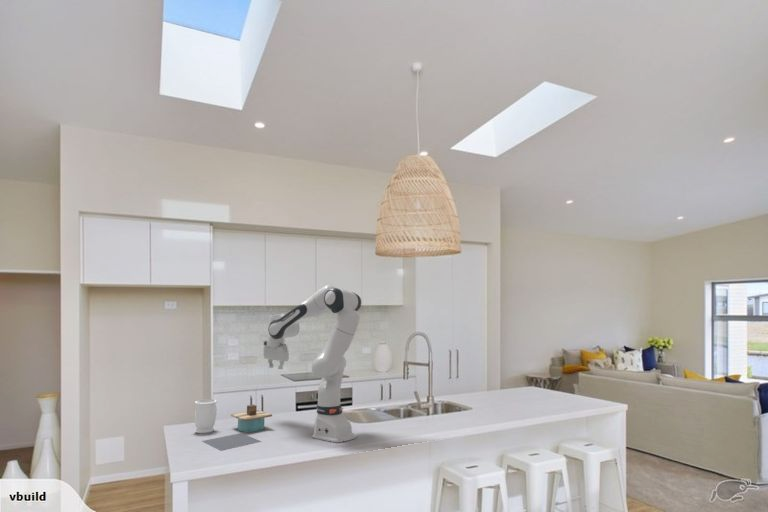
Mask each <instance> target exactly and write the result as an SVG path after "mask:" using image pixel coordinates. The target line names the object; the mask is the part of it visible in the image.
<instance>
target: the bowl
mask: <svg viewBox="0 0 768 512" xmlns="http://www.w3.org/2000/svg"><path fill="white" fill-rule="evenodd" d="M263 429H265V418H260V419H255V420H249V421H243V420H240V419H238V418H237V430H238V431H240V432H244V433H245V432H246V433H249V432H258V431H261V430H263Z"/></svg>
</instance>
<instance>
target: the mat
mask: <svg viewBox="0 0 768 512" xmlns="http://www.w3.org/2000/svg"><path fill="white" fill-rule="evenodd" d="M201 442H202V443H204V444H206V445H208V446H210V447H212V448H213V449H217V450H218V451H221V452H222V451H225V450H226V451H227V450H231V449H235V448H239V447H240V448H241V447H244V446H249V445H253V444H258V443H262V442H263V441H261V440H259V439H257V438H254V437H251V436H249V435H247V434H245V433H243V432H240V433H236V434H235V433H233V434H231V435H230V434H229V435H226V436H220V437H219V436H218V437H215V438H209V439H205V440H201Z"/></svg>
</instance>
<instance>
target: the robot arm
mask: <svg viewBox="0 0 768 512" xmlns="http://www.w3.org/2000/svg"><path fill="white" fill-rule="evenodd" d="M361 306H362V298H361V297H360V296H359V294H357V293H356V292H351V291H350V290H347V289H344V288H342V289H341V288H337V287H336V286H334V285H333V284H327V285H324V286H322V287H321V288H320V289H318V290H316V291H315V292H314V293H313V294H311V296H310V297H308V298H307V299H306V300H304V301H303V302H302V303H300V304H299V305H297V306H295V307H293V309H291V310H290V311H288V312H287V313H286V314H284V312H283V313H282V312H279V313H272V314H270V316H269V319H268V337H267V339H266V340H264V341H263V358H264V359H265V360H267V362H268V367H269V368H271V369H272V368H274V363H273V361H277V362H279V365H278V368H277V369H278V370H283V368H284V364H285V362H288V361H289V359H290V358H289V357H290V356H289V349H288V346H287V344H286V343H285V341H286V339H285V338H294V337H296V336H297V335H298V334H299V331H300V324H299V322H298V321H301V320H302V319H305V318H312V317H318V316H320V315H322V314H325V312H327V310H331V312H332V313H333V314H337V319H336V321H335V322H334V326H333V328H332V330H331V332H330V335H329V336H328V339H327V341H326V343H325V344H324V346H323V347H322V349H321V350H320V352H319V354H318V355H317V357H316V358H315V359H314V360H313V362H312V363H311V372H312V374H313V375H314V377H316V378H320V379H321V380H320V384H319V386H318V388H317V405H316V414H317V415H316V417H315V420H314V430H313V434H312V435H311V436H312V439H316V440H321V441H325V442H326V441H327V442H330V441H331V443H343V441H344V442H347V441H351V440H354V439H356V438H357V437H358V435H357V434H356V433H354V432H352V431H353V430H352V424H351V422H350V421H349V420H348V419H347V418H346V416H345V415H344V413H343V410H344V407H342V404H341V387H342V381H343V377H344V376H343V375H344V370H345V368H346V365H347V359H346V357H345V354H346V352H347V351H348V350H349V349H350V346H351V344H352V342H353V339H354V337H355V335H356V332H357V329H358V326H359V323H360V318H361V317H360V313H359V312H358V311H359V310H360V309H361Z"/></svg>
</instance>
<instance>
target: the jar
mask: <svg viewBox="0 0 768 512" xmlns="http://www.w3.org/2000/svg"><path fill="white" fill-rule="evenodd" d="M217 403H218V401H217V399H213V398H212V399H211V398H209V399H208V398H207V399H199V400H195V401H194V405H195V408H194V423H195V428H196V431H195V433H197V434H207V433H211V432H214V430H215V429H214V426H215V425H216V424H215V423H216V418H217V414H218V413H217V405H216V404H217Z"/></svg>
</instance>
